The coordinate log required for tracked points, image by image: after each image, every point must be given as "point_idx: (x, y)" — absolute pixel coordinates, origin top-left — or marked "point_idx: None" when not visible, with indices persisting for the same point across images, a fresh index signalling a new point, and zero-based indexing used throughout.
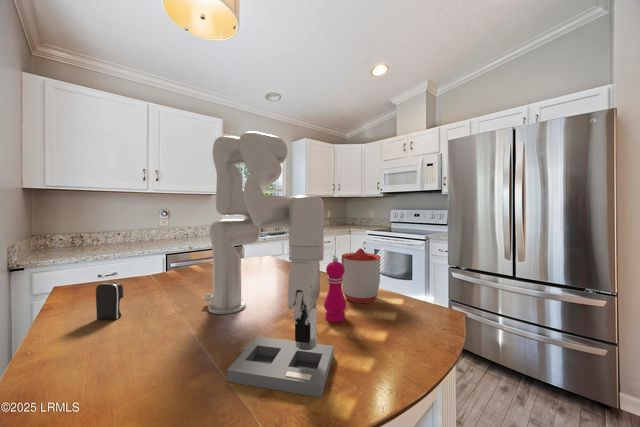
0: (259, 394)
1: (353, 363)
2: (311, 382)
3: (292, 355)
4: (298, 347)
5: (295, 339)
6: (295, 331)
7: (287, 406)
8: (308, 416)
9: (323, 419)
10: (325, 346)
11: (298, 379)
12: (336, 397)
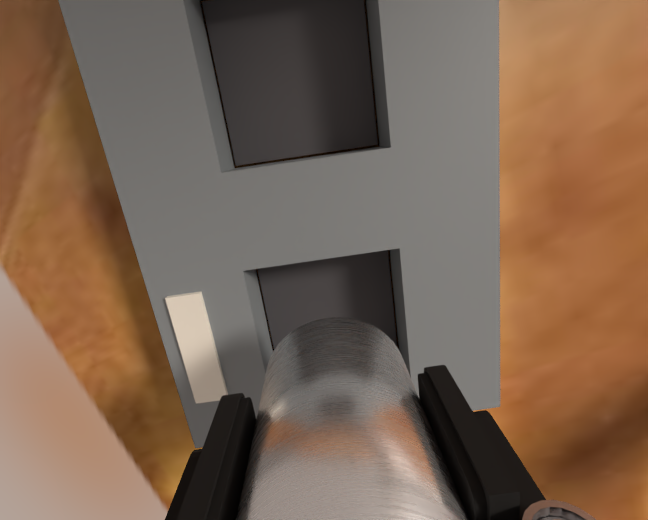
0: (106, 188)
1: None
2: (187, 412)
3: (341, 249)
4: (268, 363)
5: (220, 403)
6: (203, 454)
7: (114, 324)
8: (114, 402)
9: (129, 443)
10: (483, 373)
11: (179, 357)
12: None
